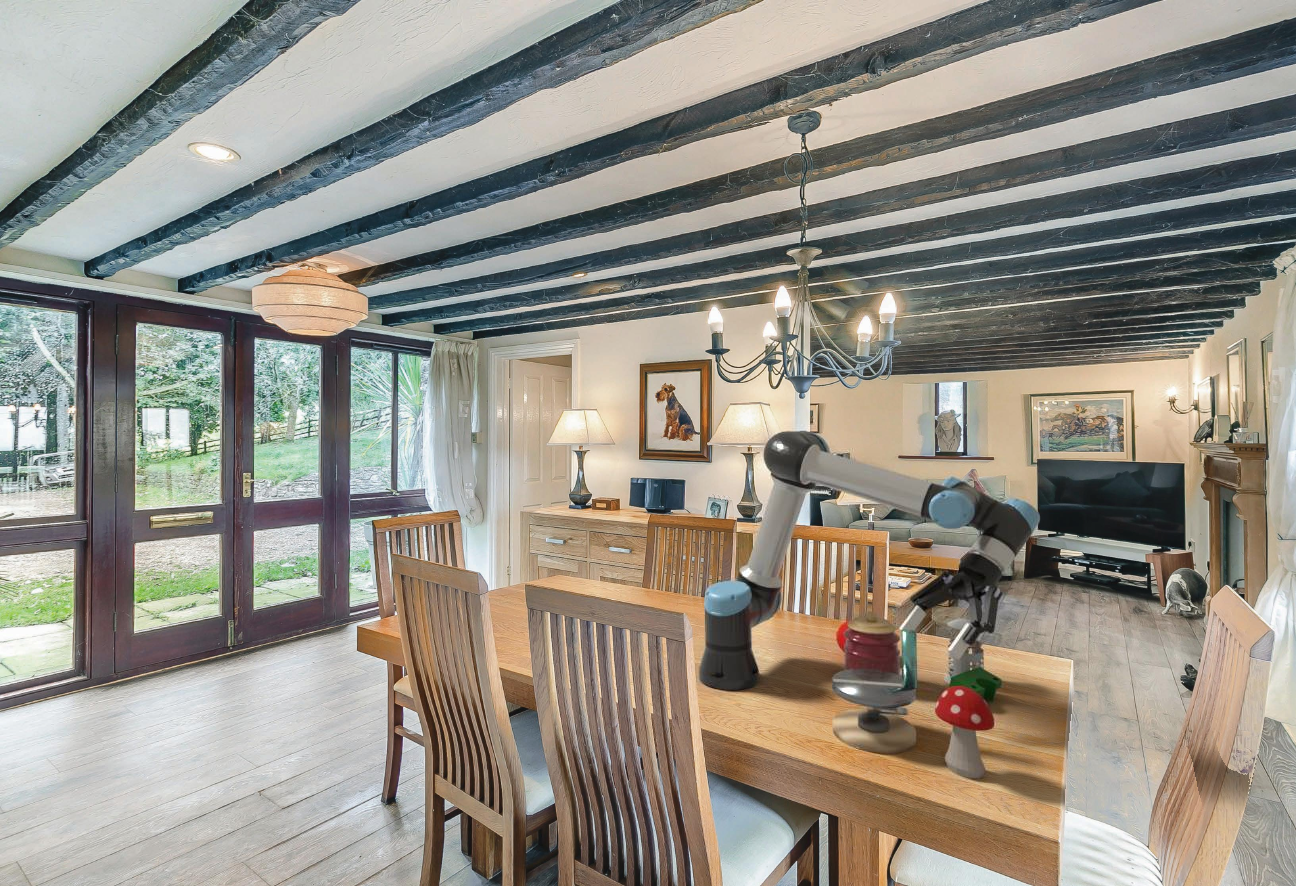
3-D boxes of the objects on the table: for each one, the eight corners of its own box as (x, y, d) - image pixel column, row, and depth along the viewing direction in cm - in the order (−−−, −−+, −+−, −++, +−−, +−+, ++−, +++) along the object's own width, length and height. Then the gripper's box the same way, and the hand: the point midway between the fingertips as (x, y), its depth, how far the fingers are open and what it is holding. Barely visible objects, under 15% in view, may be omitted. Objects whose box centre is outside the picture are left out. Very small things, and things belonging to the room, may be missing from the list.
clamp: (972, 725, 138) (971, 696, 134) (948, 709, 143) (946, 681, 139) (1004, 695, 142) (1004, 666, 139) (980, 681, 147) (979, 652, 144)
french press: (938, 682, 151) (937, 580, 151) (953, 668, 160) (952, 572, 159) (982, 692, 144) (981, 586, 144) (995, 678, 153) (994, 578, 153)
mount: (817, 722, 131) (817, 707, 131) (881, 711, 135) (881, 697, 135) (864, 759, 116) (864, 743, 116) (934, 745, 120) (934, 730, 120)
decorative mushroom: (925, 765, 113) (923, 683, 113) (952, 751, 118) (951, 673, 118) (978, 790, 105) (977, 703, 105) (1005, 775, 109) (1004, 691, 109)
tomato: (885, 668, 160) (884, 628, 160) (835, 663, 164) (835, 624, 164) (883, 651, 173) (882, 614, 173) (837, 647, 177) (836, 610, 177)
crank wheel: (834, 731, 120) (833, 639, 119) (830, 697, 135) (829, 616, 135) (925, 740, 116) (924, 644, 116) (910, 704, 131) (909, 620, 131)
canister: (871, 697, 143) (870, 622, 143) (833, 678, 155) (832, 608, 154) (912, 688, 148) (911, 614, 148) (873, 669, 160) (872, 602, 160)
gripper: (1050, 588, 117) (989, 677, 113) (950, 563, 141) (896, 636, 136) (1028, 562, 115) (965, 652, 111) (930, 542, 139) (875, 615, 135)
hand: (927, 643), depth 124 cm, fingers open, 13 cm apart
